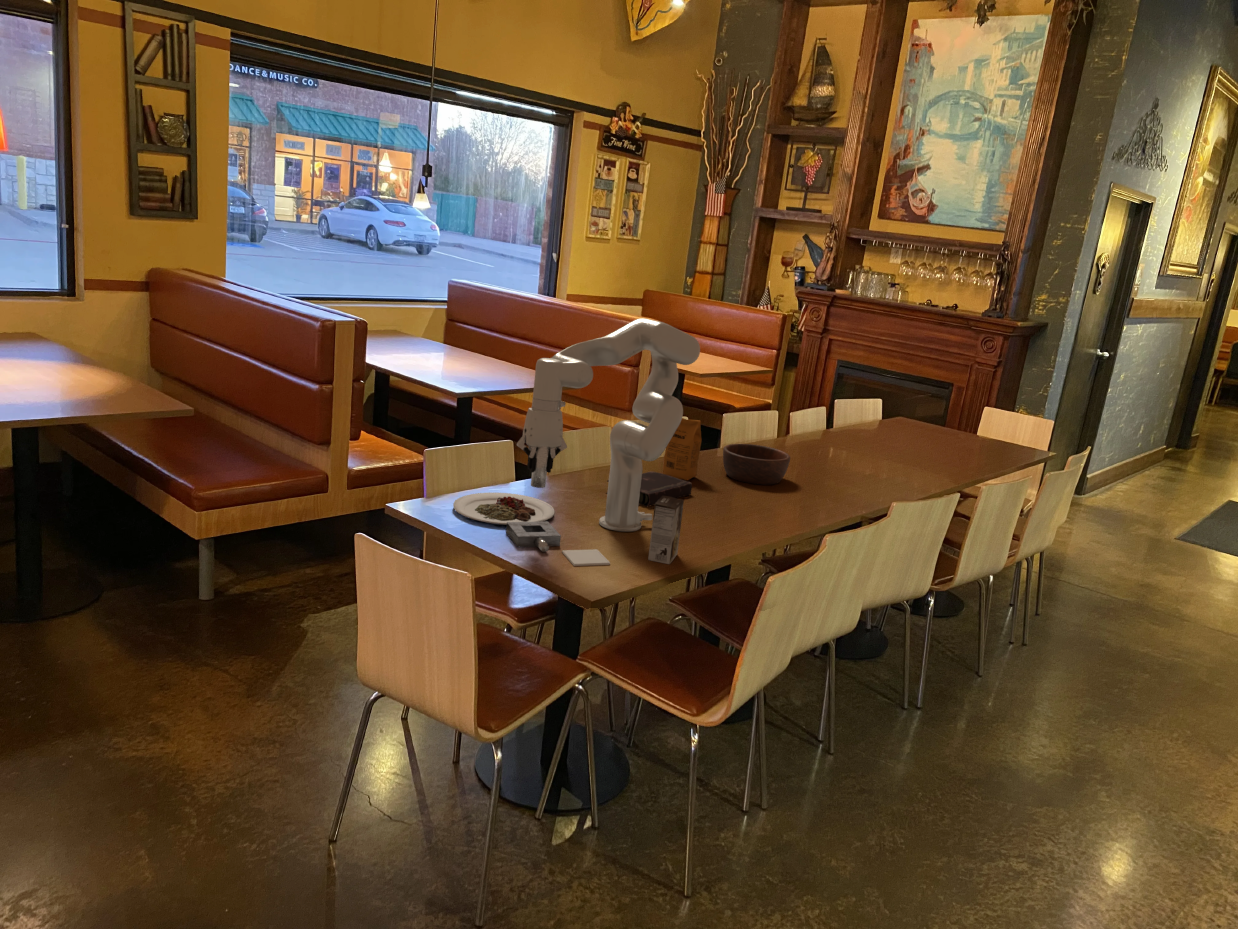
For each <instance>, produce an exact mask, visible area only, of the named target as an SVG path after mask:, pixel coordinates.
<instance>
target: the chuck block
mask: <svg viewBox="0 0 1238 929" xmlns="http://www.w3.org/2000/svg"><path fill="white" fill-rule="evenodd" d="M505 528H506V529H505V533H506V534H507V536H508V538H510V540H512V542H513V543H514V545H515V546H516V547H517V548H532V547H534V548H535V547H537V548H539V550H540V551H541V552H543V553H546V552H548V551H549V549H550V547H560V546H561V537H562V535H561V534H560V533H559V532H558V530H556V528H555V527H554V526H553V525H552V524H551V523H550V522H549V521H548V520H546V521H542V522H507V525H505Z"/></svg>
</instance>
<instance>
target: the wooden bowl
mask: <svg viewBox="0 0 1238 929" xmlns="http://www.w3.org/2000/svg"><path fill="white" fill-rule="evenodd" d="M722 460H723V461H722V462H723V469H724V471H725V473H726V475H727V476H728V477H729V478H731V479H733V480H736V481H739V482H742V483H746V484H751V485H752V484H753V485H761V486H765V485H766V486H770V485H771V486H772V485H776V484H778V483H780V482H781V481H782V480H783V479H784V477H785V476H786V473H787V471H788V468H789V464H790V460H791V455H790V454H789V453H787V452H786V451H783V450H781V449H778V448H774V447H770V446H766V445H759V444H752V443H731V444H727V445H725V446H723V450H722Z"/></svg>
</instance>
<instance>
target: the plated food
mask: <svg viewBox="0 0 1238 929" xmlns="http://www.w3.org/2000/svg"><path fill="white" fill-rule="evenodd" d="M452 504H453V509H454V511H456V512H457V513H458V514H460V515H461V516H464V517H465V518H468V519H471V520H474V521H479V522H484V523H487V524H494V525H500V526H501V525H502V526H503V525H504V526H507V522H544V521H548V520H550V519H551V518H553V517H554V515H555V509H554V507H553V506H552V505H551V504H549V503H548V502H546V501H544V500H542V499H538V498H536V497H532V496H528V495H523V494H518V493H508V492H478V493H470V494H466V495H462V496H460V497H459V498H457V499H455V500H454V502H453V503H452Z"/></svg>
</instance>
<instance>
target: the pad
mask: <svg viewBox="0 0 1238 929" xmlns="http://www.w3.org/2000/svg"><path fill="white" fill-rule="evenodd" d="M561 553H562V554H563V555H564V557H565V558H566V559H567V560H568V561H569V563H570V564H572V566H573V567H585V566H610V565H611V562H610V560H608V559H607V557H605V555H603V554H602V553H601V551H599V549H596V548H594V549H568V550H567V549H564V550H561Z"/></svg>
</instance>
